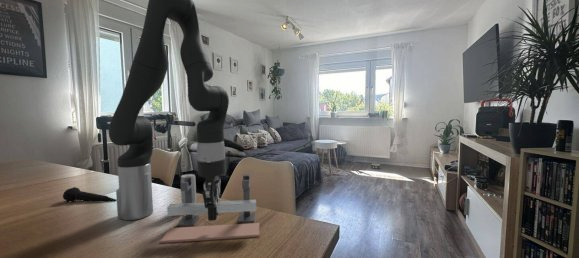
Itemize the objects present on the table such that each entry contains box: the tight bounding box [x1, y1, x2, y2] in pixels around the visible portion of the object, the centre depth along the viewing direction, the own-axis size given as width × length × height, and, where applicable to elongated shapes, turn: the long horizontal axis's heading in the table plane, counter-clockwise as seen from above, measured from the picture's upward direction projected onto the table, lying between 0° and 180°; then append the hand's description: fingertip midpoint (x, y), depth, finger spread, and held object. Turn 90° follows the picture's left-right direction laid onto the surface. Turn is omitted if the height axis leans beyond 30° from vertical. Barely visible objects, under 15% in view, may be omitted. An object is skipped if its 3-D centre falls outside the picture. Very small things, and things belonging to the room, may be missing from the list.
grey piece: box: [180, 173, 197, 203], centre depth 86 cm, size 5×5×12 cm
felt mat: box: [160, 222, 260, 244], centre depth 69 cm, size 26×7×1 cm, turn 97°
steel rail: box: [166, 199, 257, 217], centre depth 69 cm, size 24×2×2 cm, turn 97°
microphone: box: [62, 186, 117, 203], centre depth 94 cm, size 6×6×20 cm
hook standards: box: [176, 173, 256, 228], centre depth 76 cm, size 23×6×14 cm, turn 97°
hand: (213, 217), depth 69 cm, fingers closed on steel rail, 2 cm apart
